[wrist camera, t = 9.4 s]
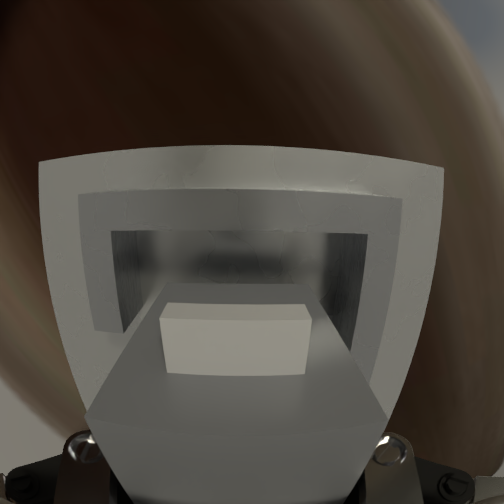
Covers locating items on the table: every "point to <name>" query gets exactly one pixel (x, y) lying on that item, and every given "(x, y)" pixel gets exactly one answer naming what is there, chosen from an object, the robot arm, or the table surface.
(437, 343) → the table surface
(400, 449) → the robot arm
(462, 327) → the table surface
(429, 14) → the table surface
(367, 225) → the board
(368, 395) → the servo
